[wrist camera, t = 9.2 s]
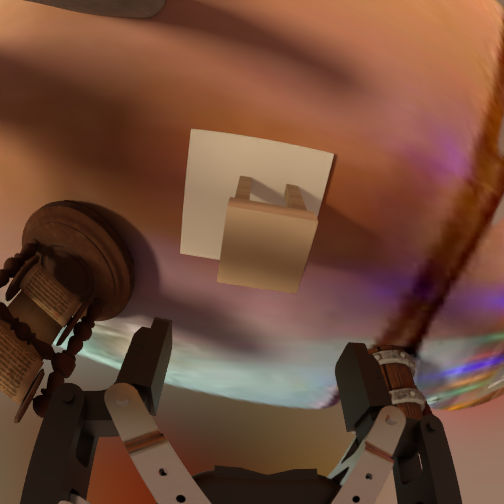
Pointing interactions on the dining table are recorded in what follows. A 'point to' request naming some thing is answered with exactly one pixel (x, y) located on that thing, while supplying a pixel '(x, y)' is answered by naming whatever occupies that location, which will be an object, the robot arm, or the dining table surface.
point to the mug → (401, 381)
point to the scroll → (58, 297)
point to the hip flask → (109, 7)
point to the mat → (227, 177)
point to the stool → (266, 240)
